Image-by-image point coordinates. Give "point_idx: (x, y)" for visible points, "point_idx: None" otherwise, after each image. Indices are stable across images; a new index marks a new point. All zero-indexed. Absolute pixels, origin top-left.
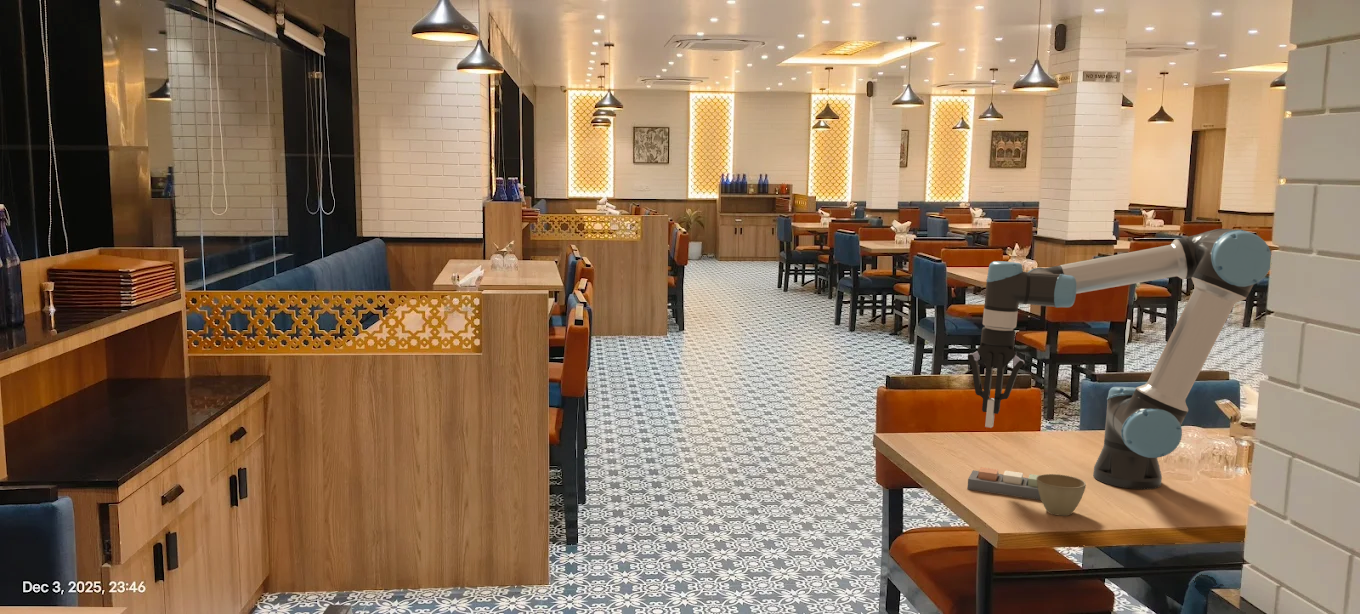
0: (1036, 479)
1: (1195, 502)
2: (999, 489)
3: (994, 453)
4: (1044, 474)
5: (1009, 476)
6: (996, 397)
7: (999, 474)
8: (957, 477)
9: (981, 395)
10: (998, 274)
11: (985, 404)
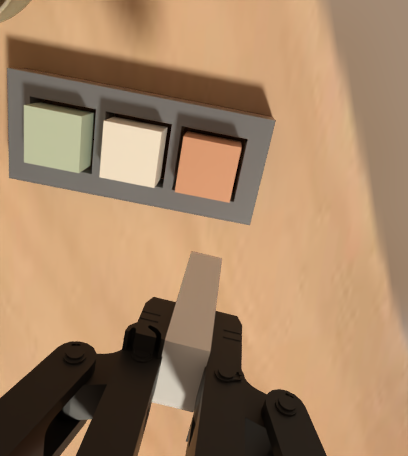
0: (56, 113)
1: None
2: (178, 99)
3: (175, 440)
4: (1, 6)
5: (141, 127)
6: (145, 357)
7: (172, 205)
8: (288, 226)
9: (254, 396)
10: None
11: (223, 342)
